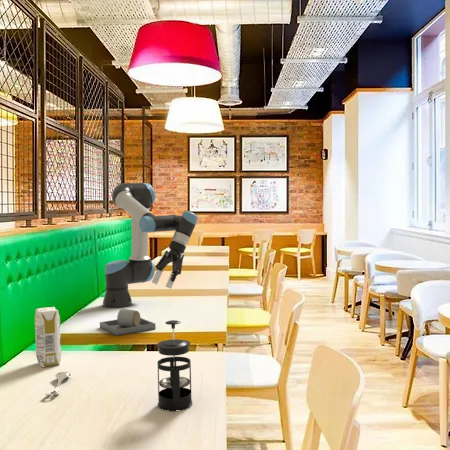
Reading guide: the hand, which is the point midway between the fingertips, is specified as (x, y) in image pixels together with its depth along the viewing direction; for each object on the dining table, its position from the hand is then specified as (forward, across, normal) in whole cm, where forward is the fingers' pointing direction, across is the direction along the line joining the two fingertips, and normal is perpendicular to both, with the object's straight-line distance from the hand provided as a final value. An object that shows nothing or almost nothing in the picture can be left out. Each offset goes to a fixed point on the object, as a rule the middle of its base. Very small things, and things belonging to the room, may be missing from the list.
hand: (161, 285), depth 251 cm
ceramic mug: (+22, -3, +8) cm, 23 cm away
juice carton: (+42, -35, +48) cm, 73 cm away
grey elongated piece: (+44, -61, +53) cm, 92 cm away
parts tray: (+23, -5, +10) cm, 25 cm away
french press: (+33, -95, +34) cm, 106 cm away
